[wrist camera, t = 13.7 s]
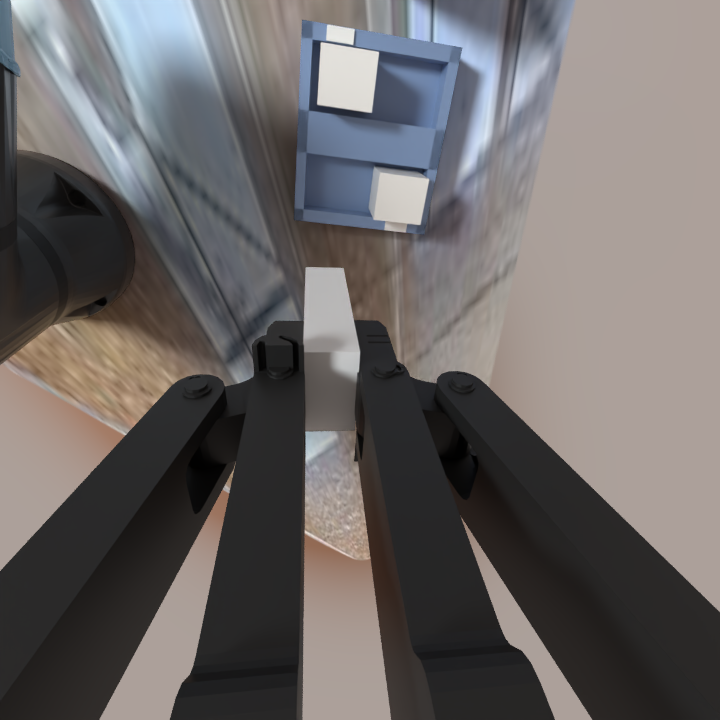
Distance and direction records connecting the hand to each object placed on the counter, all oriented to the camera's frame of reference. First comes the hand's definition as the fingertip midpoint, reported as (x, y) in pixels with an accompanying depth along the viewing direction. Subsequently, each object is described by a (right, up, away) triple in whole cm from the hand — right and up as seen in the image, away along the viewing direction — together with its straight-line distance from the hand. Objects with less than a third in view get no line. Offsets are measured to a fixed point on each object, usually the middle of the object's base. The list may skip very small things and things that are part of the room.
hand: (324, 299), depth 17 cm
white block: (+4, +13, +21) cm, 25 cm away
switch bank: (+2, +17, +19) cm, 26 cm away
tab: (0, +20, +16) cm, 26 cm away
